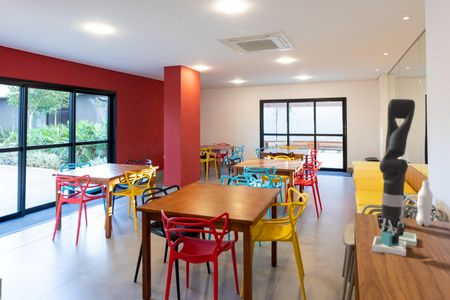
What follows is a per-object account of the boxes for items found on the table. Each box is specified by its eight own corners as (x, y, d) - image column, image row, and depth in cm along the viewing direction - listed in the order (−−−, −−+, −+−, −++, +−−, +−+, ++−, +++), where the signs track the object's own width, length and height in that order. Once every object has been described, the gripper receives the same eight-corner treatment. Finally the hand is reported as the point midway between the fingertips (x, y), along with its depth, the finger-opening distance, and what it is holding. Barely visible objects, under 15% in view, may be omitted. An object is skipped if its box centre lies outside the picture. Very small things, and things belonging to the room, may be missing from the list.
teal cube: (380, 242, 135) (381, 231, 135) (389, 241, 137) (390, 231, 136) (389, 246, 131) (389, 235, 130) (398, 246, 132) (399, 234, 131)
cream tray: (374, 242, 142) (375, 236, 142) (405, 248, 136) (406, 241, 136) (372, 251, 132) (372, 244, 131) (405, 258, 125) (406, 251, 125)
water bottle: (425, 223, 174) (427, 180, 172) (434, 227, 167) (436, 182, 165) (413, 223, 174) (415, 180, 172) (421, 227, 167) (424, 182, 165)
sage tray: (386, 234, 153) (386, 229, 153) (415, 239, 147) (415, 233, 146) (384, 242, 142) (384, 236, 142) (416, 248, 136) (416, 241, 136)
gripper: (412, 207, 126) (410, 247, 127) (386, 199, 140) (384, 235, 141) (397, 208, 125) (395, 248, 126) (372, 200, 138) (370, 236, 140)
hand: (389, 241), depth 133 cm, fingers closed on teal cube, 5 cm apart
